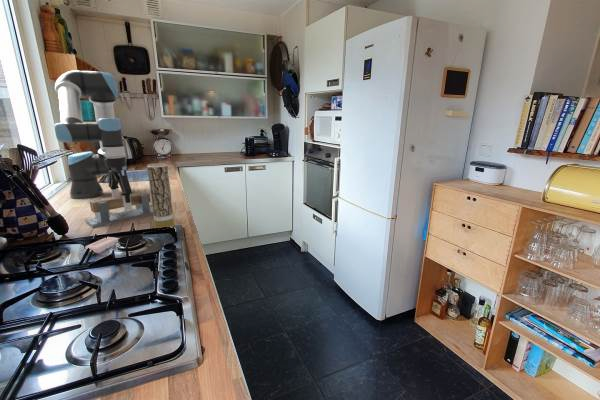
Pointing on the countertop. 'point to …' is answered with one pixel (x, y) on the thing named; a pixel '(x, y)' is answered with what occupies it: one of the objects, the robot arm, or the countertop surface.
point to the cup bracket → (120, 213)
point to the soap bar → (102, 244)
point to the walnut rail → (117, 201)
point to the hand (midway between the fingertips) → (122, 206)
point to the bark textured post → (160, 195)
